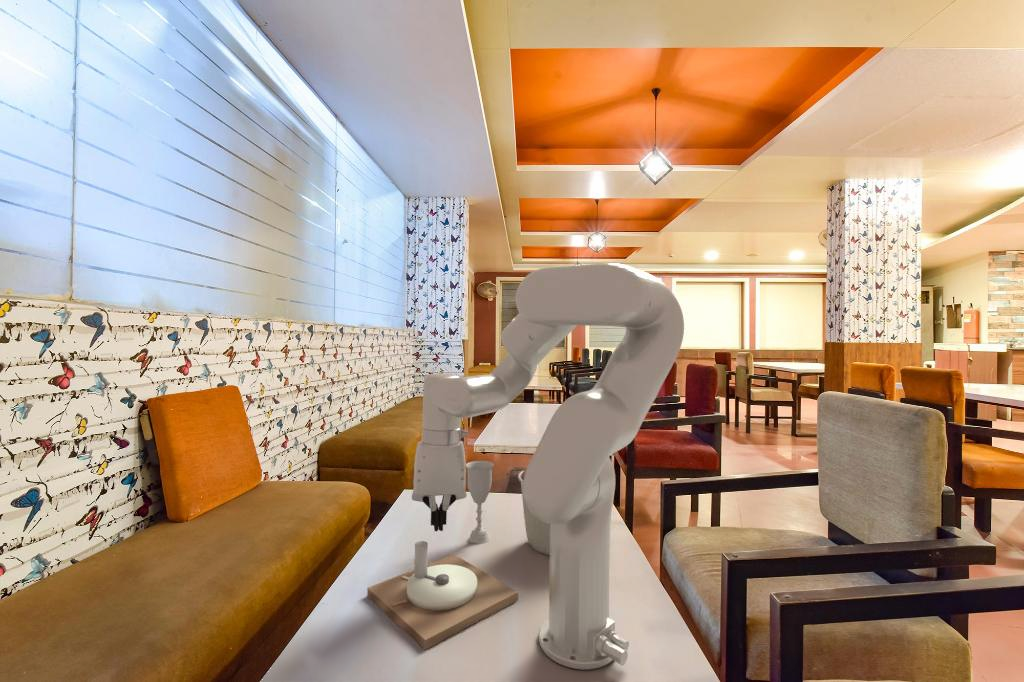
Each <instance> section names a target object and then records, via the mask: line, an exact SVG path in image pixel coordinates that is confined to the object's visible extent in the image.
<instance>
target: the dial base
mask: <svg viewBox="0 0 1024 682" xmlns="http://www.w3.org/2000/svg"><path fill="white" fill-rule="evenodd" d="M445 564H447V565H458V566H462V567H465V568H467V569H469V570H471V571H472V572H473V573H474V574H475V575H476V577H477V592H476V595H475V596H474V597H473V598H472V599H471V600H470V601H469V602H467V603H466V604H464V605H462V606H459V607H457V608H453V609H448V610H427V609H422V608H419V607H417V606H415V605H413V604H412V603H411V602H410V601H409V600H408V598H407V582H408V580H409V578H410V577H411V576H412V575H413V574H414V573H415V569H412V570H409V571H408V572H404V573H402V574H400V575H396V576H394V577H392V578H390V579H386V580H384V581H382V582H379V583H377V584H373V585H371V586H369V587H367V590H366V591H367V592H366V593H367V594H366V595H367V597H368V598H369V599H370V600H371V601H372V602H373V603H374V604H376V605H377V606H378V608H380V609H381V610H382V611H383V612H384V613H385V614H386V615H388V617H389V618H391V619H392V621H394V623H396V624H397V625H398V626H400V627H401V629H402V630H404V631H405V632H406V634H408V635H409V636H410V637H411V638H412V639H414V641H415V642H416V643H418V645H420V646H421V647H422V648H423V649H424V650H427V649H429V648H431V647H433V646H435V645H437V644H439V643H440V642H443V641H444V640H446V639H448V638H450V637H451V636H453V635H455V634H457V633H459V632H461V631H463V630H465V629H467V628H468V627H470V625H471V626H472V625H474V624H476V623H478V622H480V621H482V620H484V619H485V618H487V617H489V616H491V615H493V614H494V613H495V614H496V613H497V612H498V611H501V610H503V609H504V608H506V607H508V606H510V605H513V604H514V603H515V602H517V601H519V592H518V590H515V589H513V588H512V587H510V586H508V585H507V584H505V583H503V582H502V581H500V580H498V579H497V578H495V577H493V576H492V575H490V574H488V573H487V572H485V571H483V570H482V569H480V568H478V567H476V566H474V565H473V564H471V563H470V562H468V561H466V560H465V559H463V558H462V557H460V556H458V555H456V554H454V553H453V554H452V555H448V556H446V557H444V558H441V559H438V560H436V561H433V562H430V563H427V567H430V566H435V565H445ZM479 620H480V621H479ZM477 621H478V622H477ZM475 622H476V623H475ZM473 623H474V624H473Z"/></svg>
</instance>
